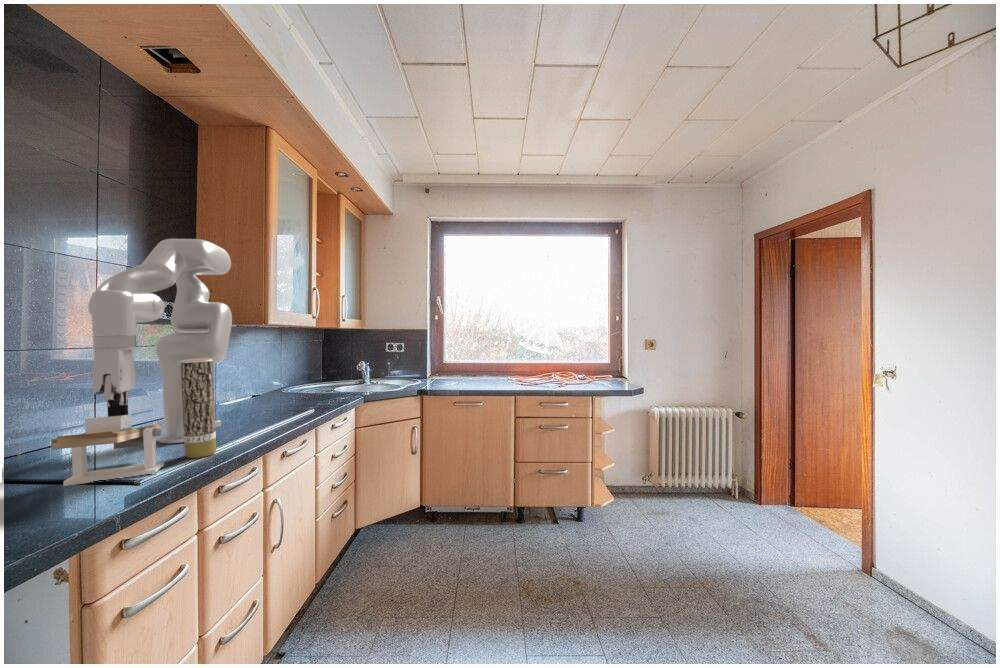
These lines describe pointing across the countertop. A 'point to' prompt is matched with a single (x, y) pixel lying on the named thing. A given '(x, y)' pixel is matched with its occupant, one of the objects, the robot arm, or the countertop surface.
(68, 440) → the balance beam
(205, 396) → the bark textured cylinder
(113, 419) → the steel block
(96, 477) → the pivot stand
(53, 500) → the countertop surface
